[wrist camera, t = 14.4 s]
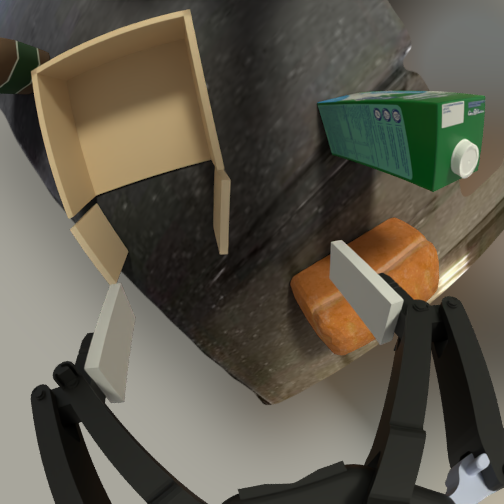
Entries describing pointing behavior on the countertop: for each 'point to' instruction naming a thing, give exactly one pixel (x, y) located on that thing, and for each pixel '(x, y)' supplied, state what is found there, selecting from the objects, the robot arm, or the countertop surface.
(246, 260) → the countertop surface
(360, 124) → the milk carton
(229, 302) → the countertop surface
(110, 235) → the flap
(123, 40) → the carton
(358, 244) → the bread
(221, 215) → the flap
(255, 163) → the countertop surface
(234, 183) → the countertop surface
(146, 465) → the robot arm
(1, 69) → the beer bottle
